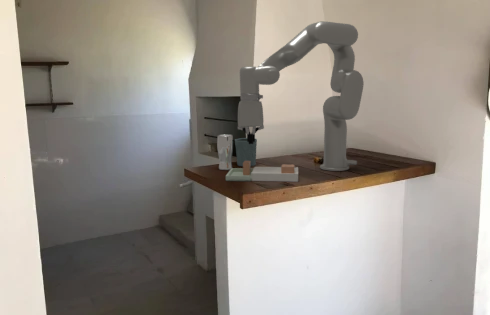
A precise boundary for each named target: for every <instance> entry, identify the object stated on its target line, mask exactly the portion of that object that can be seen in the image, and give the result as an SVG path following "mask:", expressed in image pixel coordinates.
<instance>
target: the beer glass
mask: <svg viewBox="0 0 490 315" xmlns="http://www.w3.org/2000/svg"><path fill="white" fill-rule="evenodd" d="M233 138H234V137H233V134H218V135H217V141H216V143H217V144H216V145H217V146H216V147H217V148H216V149H217V154H218V159H219V164H218V170H220V171H230V170H231V168H233V164H232V158H233V150H234V139H233Z"/></svg>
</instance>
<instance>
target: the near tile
mask: <svg viewBox="0 0 490 315" xmlns="http://www.w3.org/2000/svg"><path fill="white" fill-rule="evenodd" d="M280 167H281V173H294V167H295V164H285V163H284V164H283V163H282V164H281V166H280Z"/></svg>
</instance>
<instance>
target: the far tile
mask: <svg viewBox="0 0 490 315" xmlns="http://www.w3.org/2000/svg"><path fill="white" fill-rule="evenodd" d="M251 167H252V166H251V161H244V162H243V166H242V168H243V175H250V173H251V169H252V168H251Z"/></svg>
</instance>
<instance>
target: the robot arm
mask: <svg viewBox="0 0 490 315" xmlns="http://www.w3.org/2000/svg"><path fill="white" fill-rule="evenodd" d="M358 38H359V32H358V29H357V28H356V27H355V26H354V25H353V24H350V23H343V22H342V23H341V22H333V21H317V22H313V23H311V24H309V25H307V26H305V28H303V29H302V30H301V31H300V32H299V33H298V34H296V35H295V36H294V37H293V38H291V39H290V40H289V41H288V42H287V43H286V44H285V45H283V46H282V47H281V48H280V49H278V50H277V51H275V52H274V53H273V54H271V55H269V57H267V58H266V59H265V60H264V61H263V62H261V63H260V64H259V65H258V66H242V67H240V68H239V88H240V89H239V93H240V94H239V95H240V101H238V102H239V103H238V106H237V130H238V131H239V130H241V131H243V132H244V133H245V134H246V138H247V142H249V144H253V143H254V142H255V139H256V133H257V132H258V131H261V130H264V129H265V126H264V109H263V108H264V107H263V104H262V101H260V100H262V99H263V98H264V95H263V94H260V86H261V85H266V86H269V85H270V86H271V85H275V83H278V81H279V80H280V76H281V73H280V71H282V70H283V69H285V68H288V67H289V66H292V65H295V64H297V63H298V62H300V61H301V60H302V59H303V58H305V57H306V55H308V54H309V53H310V52H311V51H312V50H314V49H315V48H316V47H317V46H318V45H322V44H327V45H328V47H329V48H330V50H331V52H332V54H333V58H334V59H333V66H332V73H331V77H330V89H331V90H332V92H335V93H337V94H340V95H332V96H329V97H328V98H326V99H325V101H324V103H323V104H322V105H323V106H322V112H323V122H324V134H323V137H324V138H323V141H324V142H323V143H324V144H323V163H322V164H320V165H319V168H320V169H321V170H324V171H332V172H341V171H348V170H349V169H350V166H357V165H358V161H357V160H354V159H348V158H347V138H348V137H347V136H348V135H347V134H348V127H347V121H349V120H353V118H355V117H356V116H357V115H358V113H359V110H360V106H361V102H362V96H363V92H364V91H363V90H364V82H365V81H364V78H363V75H362V73H360V72H359V71H357V69H355V61H356V59H355V57H356V55H355V50H354V49H353V47H352V46H353V45H355V43H356V42H357V41H358ZM346 120H347V121H346ZM250 128H252V131H251V132H250Z"/></svg>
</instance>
